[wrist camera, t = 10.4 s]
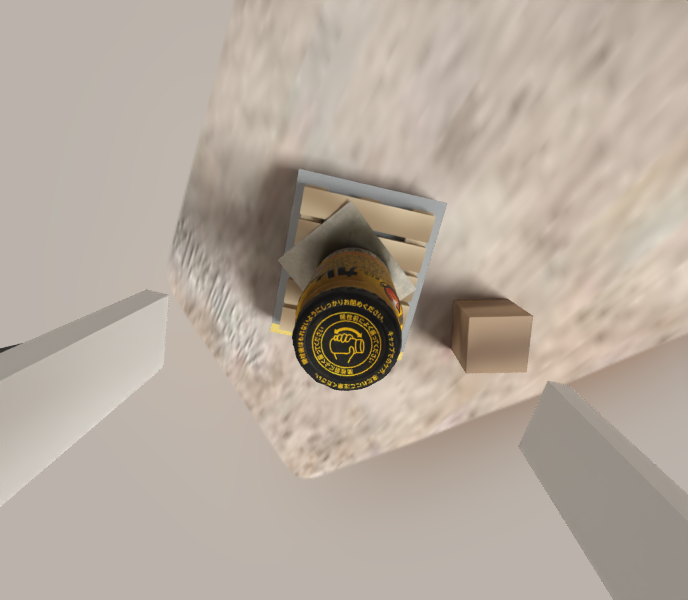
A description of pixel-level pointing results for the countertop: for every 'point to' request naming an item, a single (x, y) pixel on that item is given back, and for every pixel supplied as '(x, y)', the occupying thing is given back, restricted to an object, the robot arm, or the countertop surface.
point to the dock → (387, 199)
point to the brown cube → (491, 336)
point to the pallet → (380, 219)
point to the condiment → (346, 302)
